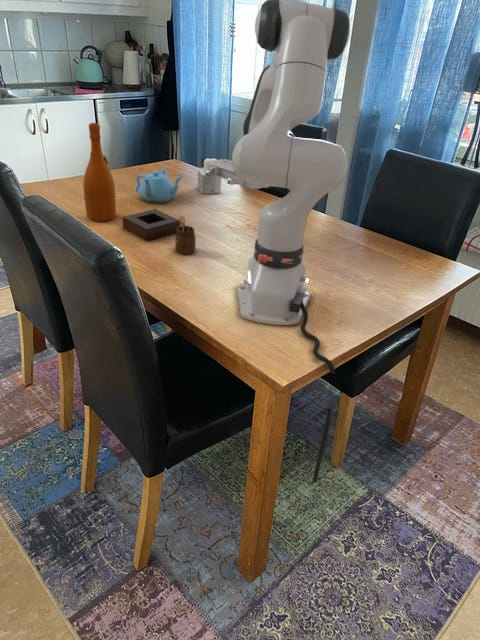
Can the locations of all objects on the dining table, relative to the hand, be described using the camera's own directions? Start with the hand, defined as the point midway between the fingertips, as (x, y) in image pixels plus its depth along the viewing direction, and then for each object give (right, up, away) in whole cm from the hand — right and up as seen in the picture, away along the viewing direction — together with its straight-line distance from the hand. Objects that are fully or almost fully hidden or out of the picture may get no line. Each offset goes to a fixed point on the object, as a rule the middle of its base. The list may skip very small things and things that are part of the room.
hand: (217, 177), depth 143 cm
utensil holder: (-10, -21, +3) cm, 24 cm away
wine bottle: (-40, -7, +21) cm, 46 cm away
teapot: (-24, +4, +42) cm, 48 cm away
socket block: (-22, -13, +15) cm, 30 cm away
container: (-6, +11, +55) cm, 56 cm away
